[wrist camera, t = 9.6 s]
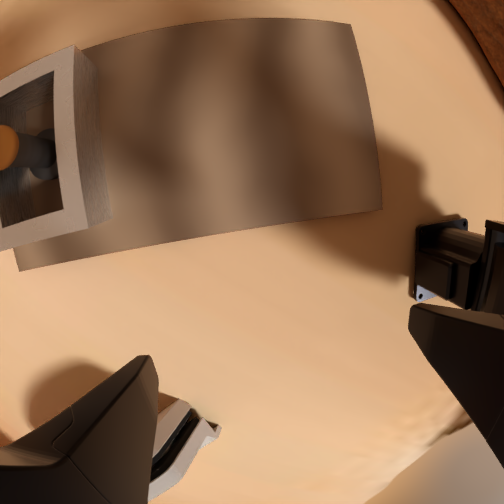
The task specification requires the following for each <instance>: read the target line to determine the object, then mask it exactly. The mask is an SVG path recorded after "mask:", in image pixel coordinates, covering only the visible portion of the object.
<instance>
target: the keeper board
mask: <svg viewBox="0 0 504 504" xmlns="http://www.w3.org/2000/svg"><path fill="white" fill-rule="evenodd" d="M81 52H82V53H83V54H84V55H85V56H86V57H87V58H88V59H89V60H90V61H91V62H92V63H93V64H94V65H95V66H96V67H97V68H98V101H99V117H100V129H101V140H102V149H103V158H104V166H105V173H106V180H107V186H108V193H109V199H110V205H111V210H112V215H113V218H112V219H110V220H107V221H105V222H103V223H100V224H98V225H95V226H93V227H91V228H88V229H84V230H79V231H75V232H71V233H67V234H63V235H59V236H55V237H51V238H47V239H43V240H40V241H36V242H32V243H28V244H25V245H21V246H18V247H14V253H15V257H16V261H17V265H18V268H19V272H20V271H25V270H29V269H34V268H39V267H44V266H49V265H53V264H58V263H63V262H68V261H73V260H78V259H83V258H88V257H94V256H99V255H104V254H109V253H114V252H120V251H125V250H130V249H136V248H141V247H147V246H152V245H158V244H163V243H169V242H175V241H180V240H186V239H192V238H198V237H204V236H210V235H216V234H222V233H228V232H234V231H240V230H246V229H252V228H259V227H265V226H271V225H278V224H284V223H291V222H298V221H304V220H311V219H318V218H325V217H332V216H339V215H346V214H353V213H360V212H367V211H375V210H382V195H381V183H380V173H379V163H378V155H377V147H376V140H375V133H374V126H373V120H372V114H371V108H370V103H369V97H368V92H367V87H366V83H365V78H364V74H363V69H362V65H361V61H360V57H359V53H358V49H357V45H356V41H355V38H354V34H353V31H352V27H351V24H345V23H337V22H329V21H319V20H306V19H285V18H251V19H231V20H218V21H208V22H199V23H192V24H185V25H178V26H172V27H167V28H162V29H157V30H152V31H147V32H143V33H139V34H134V35H130V36H127V37H123V38H119V39H116V40H112V41H109V42H106V43H102V44H99V45H96V46H93V47H90V48H87V49H84V50H82V51H81ZM26 132H27V134H24V133H20V132H15V131H14V129H13V128H11V127H10V126H7V125H0V171H1V170H4V169H6V168H7V167H22V168H29V174H30V182H31V190H32V197H33V203H34V209H35V215H36V217H39V216H42V215H46V214H49V213H52V212H56V211H59V210H63V209H64V207H63V201H62V195H61V188H60V181H59V174H58V165H57V155H56V144H55V128H54V100H52V101H49V102H47V103H45V104H42V105H40V106H38V107H36V108H33V109H31V110H29V111H27V112H26Z"/></svg>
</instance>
